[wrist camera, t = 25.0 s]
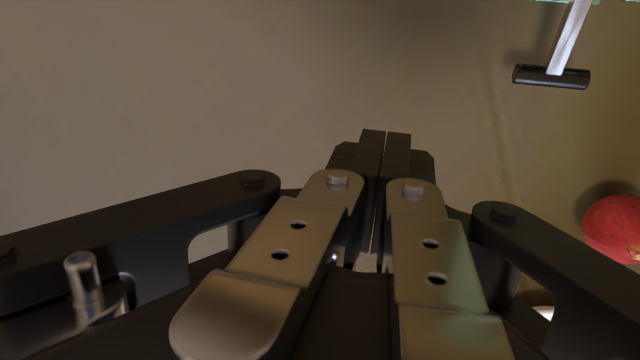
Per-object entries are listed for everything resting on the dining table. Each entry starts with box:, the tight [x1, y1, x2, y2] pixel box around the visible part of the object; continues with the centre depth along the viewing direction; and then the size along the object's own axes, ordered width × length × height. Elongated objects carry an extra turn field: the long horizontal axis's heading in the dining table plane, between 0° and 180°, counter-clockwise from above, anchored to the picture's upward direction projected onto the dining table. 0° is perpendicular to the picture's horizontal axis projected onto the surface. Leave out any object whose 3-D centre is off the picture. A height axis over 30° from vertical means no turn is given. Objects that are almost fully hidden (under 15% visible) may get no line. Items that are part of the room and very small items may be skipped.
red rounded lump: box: [581, 195, 640, 264], centre depth 40 cm, size 6×6×8 cm
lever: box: [512, 0, 593, 90], centre depth 31 cm, size 11×5×2 cm, turn 176°
